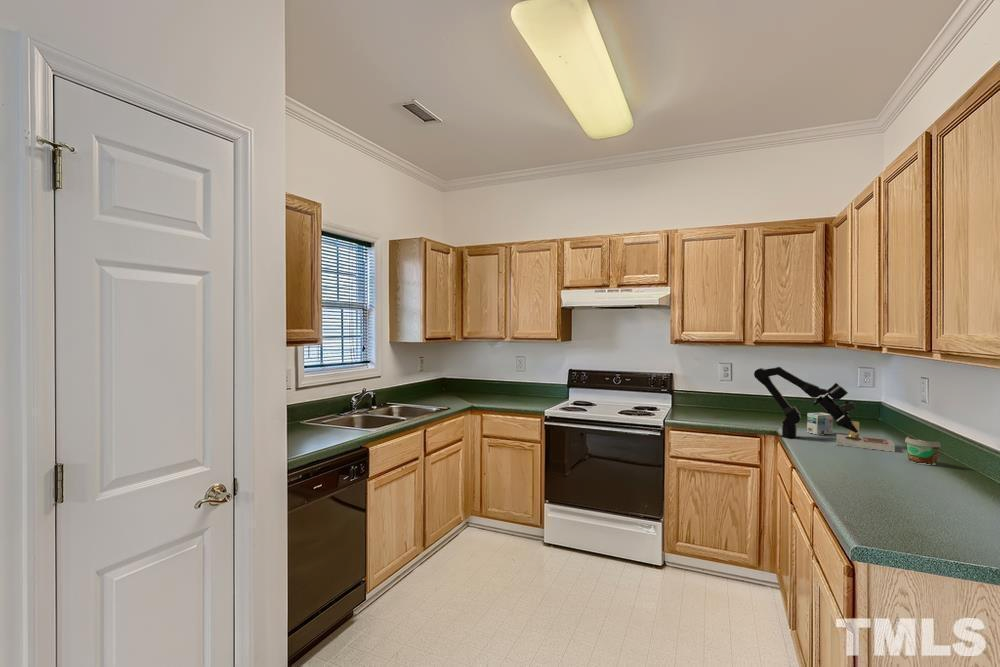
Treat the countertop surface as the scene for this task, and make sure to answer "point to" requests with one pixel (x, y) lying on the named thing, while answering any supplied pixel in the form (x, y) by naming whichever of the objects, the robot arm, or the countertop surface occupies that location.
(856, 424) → the brass peg
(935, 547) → the countertop surface
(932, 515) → the countertop surface
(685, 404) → the countertop surface
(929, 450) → the food container
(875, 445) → the socket plate
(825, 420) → the light bulb box
